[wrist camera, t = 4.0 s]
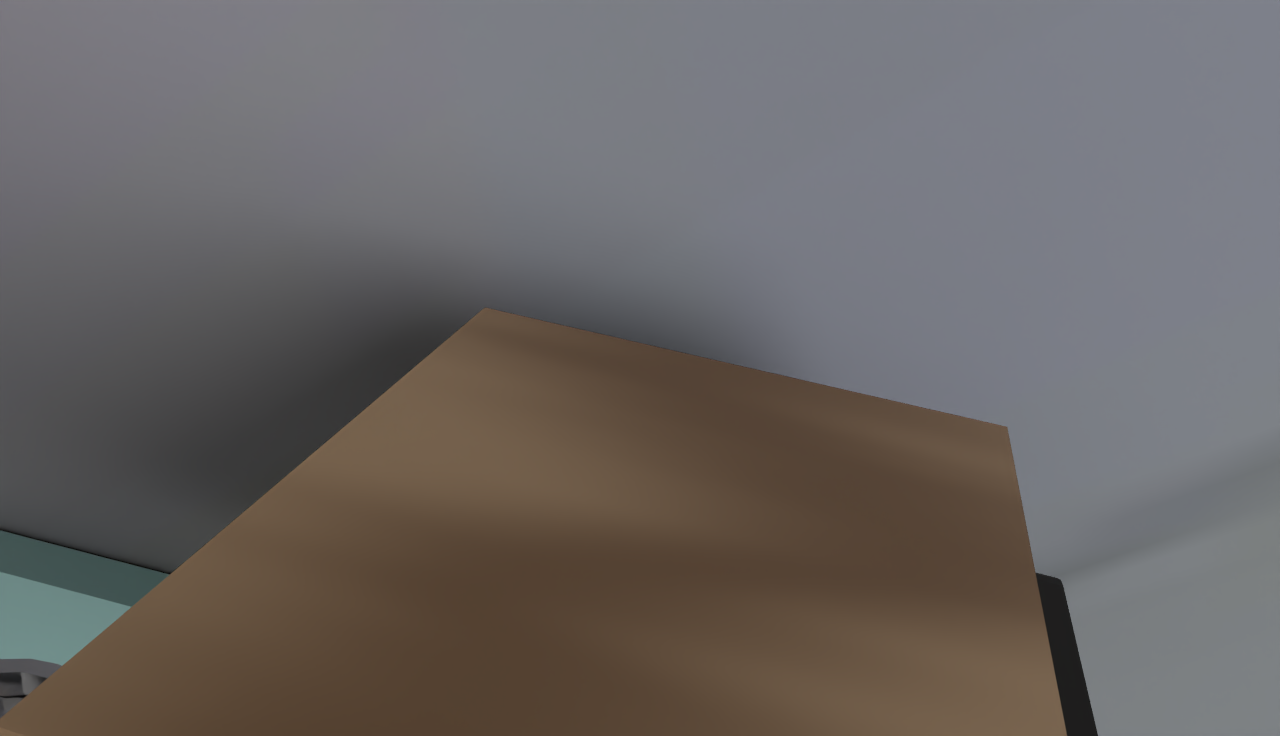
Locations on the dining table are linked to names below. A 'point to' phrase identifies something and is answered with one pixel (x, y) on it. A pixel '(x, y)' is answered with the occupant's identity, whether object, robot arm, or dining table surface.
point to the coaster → (61, 597)
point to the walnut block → (595, 567)
